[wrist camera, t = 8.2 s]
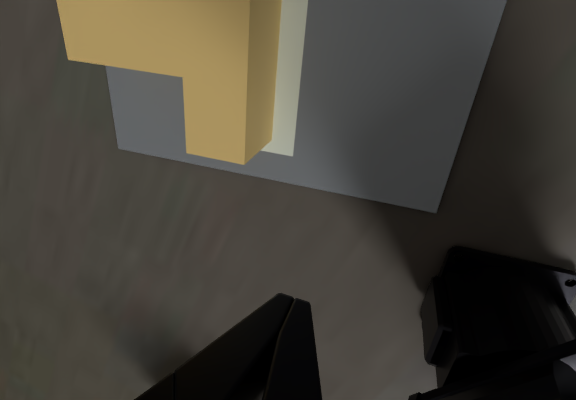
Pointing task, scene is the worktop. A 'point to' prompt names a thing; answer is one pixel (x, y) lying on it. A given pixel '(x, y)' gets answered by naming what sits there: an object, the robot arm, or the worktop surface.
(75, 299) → the worktop surface
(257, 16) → the t block
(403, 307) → the worktop surface
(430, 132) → the mat
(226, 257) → the worktop surface
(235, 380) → the robot arm
